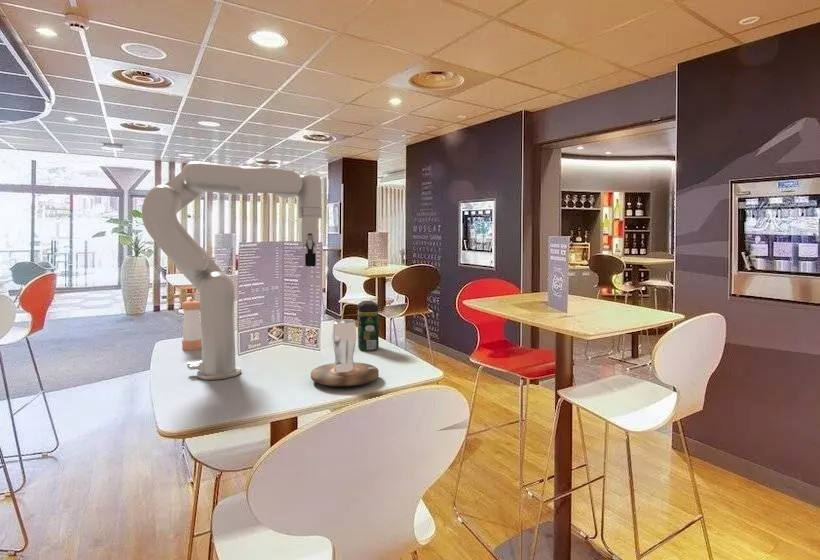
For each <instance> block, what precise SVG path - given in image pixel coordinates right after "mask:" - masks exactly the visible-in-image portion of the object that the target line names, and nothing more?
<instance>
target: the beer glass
mask: <svg viewBox="0 0 820 560" xmlns="http://www.w3.org/2000/svg"><path fill="white" fill-rule="evenodd" d="M331 332H332V334H331V335H332V336H331V338H332V346H333V353H334V357H335V358H334V359H335V360H334V361H335V362H334V363H335V367H334V372H336V373H340V374H347V373H352V372H354V370H355V368H354V363H353V362H354V354H355V348H356V343H357V342H356V340H357V328H356V320H355V319H349V318H346V319H344V318H340V319H335V320H332V331H331Z"/></svg>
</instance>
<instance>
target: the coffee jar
mask: <svg viewBox="0 0 820 560" xmlns="http://www.w3.org/2000/svg"><path fill="white" fill-rule="evenodd" d="M379 338H380V337H379V305H378V303H377V302H375V301H373V300H361V301H360V302H359V303H358V304H357V347H358V349H359V351H363V352H364V351H365V352H372V351H376V350H378V349H379V346H380V345H379V341H380V340H379Z"/></svg>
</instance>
